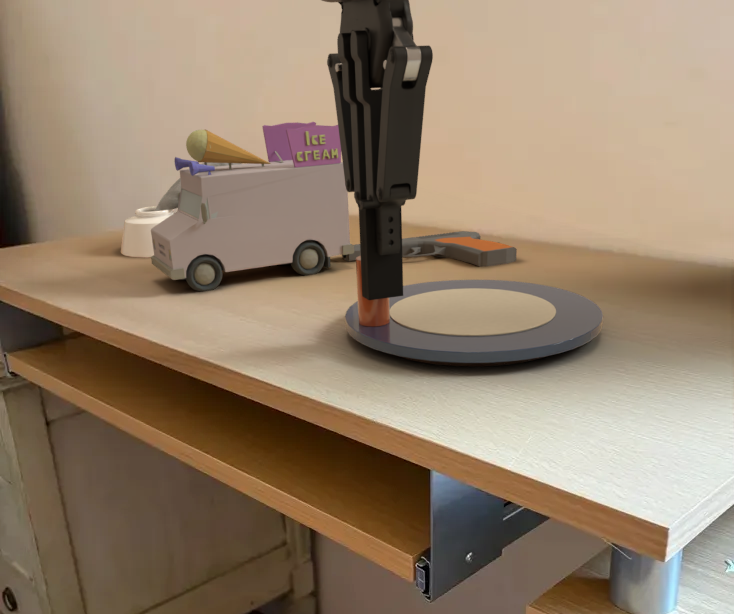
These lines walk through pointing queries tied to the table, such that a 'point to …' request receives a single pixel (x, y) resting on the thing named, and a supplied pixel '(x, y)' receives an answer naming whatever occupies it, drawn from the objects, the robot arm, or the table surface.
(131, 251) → the inkwell
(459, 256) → the handgun
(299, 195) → the toy vehicle
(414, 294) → the plate
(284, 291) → the table surface
